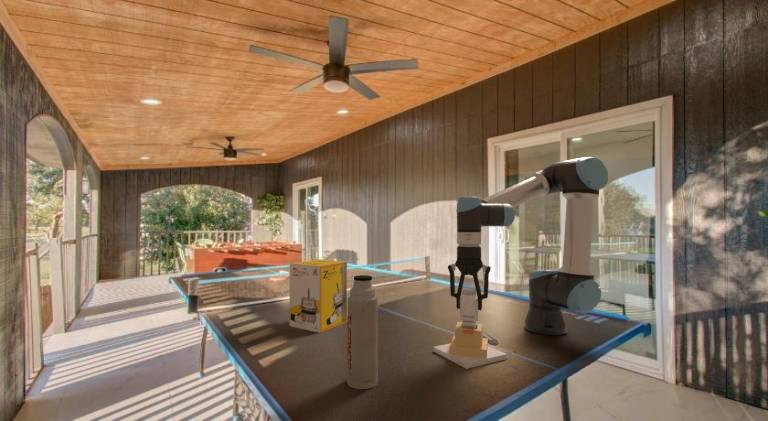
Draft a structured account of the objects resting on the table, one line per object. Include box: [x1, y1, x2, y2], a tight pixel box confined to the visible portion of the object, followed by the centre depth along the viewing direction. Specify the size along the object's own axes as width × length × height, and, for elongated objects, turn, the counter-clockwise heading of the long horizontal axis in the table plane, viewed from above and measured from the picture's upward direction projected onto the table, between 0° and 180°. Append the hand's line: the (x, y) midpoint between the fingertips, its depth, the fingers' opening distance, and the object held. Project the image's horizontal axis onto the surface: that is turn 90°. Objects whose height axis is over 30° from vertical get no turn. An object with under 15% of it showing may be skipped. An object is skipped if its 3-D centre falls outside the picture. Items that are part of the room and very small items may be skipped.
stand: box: [433, 321, 508, 370], centre depth 120 cm, size 23×23×9 cm
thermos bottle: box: [346, 274, 379, 390], centre depth 101 cm, size 8×8×28 cm
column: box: [461, 289, 477, 329], centre depth 120 cm, size 4×4×18 cm
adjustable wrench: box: [483, 330, 499, 345], centre depth 142 cm, size 25×6×2 cm, turn 9°
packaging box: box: [288, 259, 348, 334], centre depth 154 cm, size 16×16×25 cm
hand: (469, 319), depth 120 cm, fingers closed on column, 4 cm apart
